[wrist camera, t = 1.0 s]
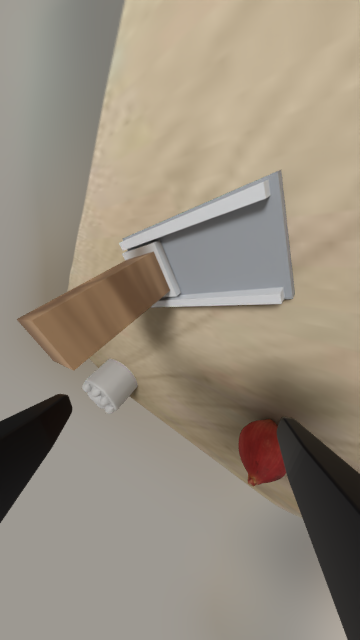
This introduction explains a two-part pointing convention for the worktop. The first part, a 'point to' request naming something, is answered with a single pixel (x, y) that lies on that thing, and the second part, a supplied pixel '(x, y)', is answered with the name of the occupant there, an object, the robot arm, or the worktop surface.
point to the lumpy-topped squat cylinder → (110, 385)
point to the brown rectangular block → (101, 306)
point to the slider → (228, 248)
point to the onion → (261, 452)
